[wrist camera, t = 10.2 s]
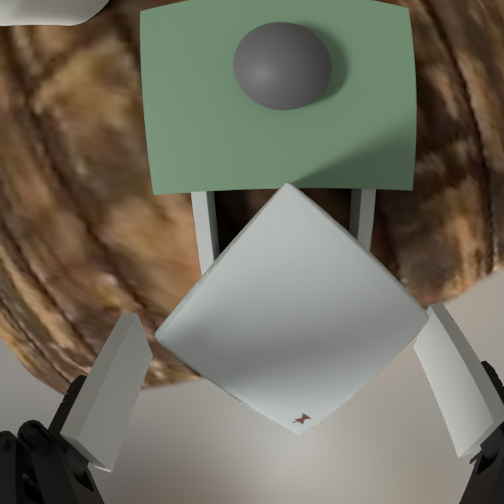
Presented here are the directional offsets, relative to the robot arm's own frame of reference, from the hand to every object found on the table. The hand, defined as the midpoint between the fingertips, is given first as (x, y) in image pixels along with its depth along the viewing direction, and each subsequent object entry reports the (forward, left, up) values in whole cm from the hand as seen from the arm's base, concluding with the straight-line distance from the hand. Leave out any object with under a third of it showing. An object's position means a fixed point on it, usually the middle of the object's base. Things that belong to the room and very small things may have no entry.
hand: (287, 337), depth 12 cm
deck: (-5, 0, -11) cm, 12 cm away
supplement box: (+1, 0, -10) cm, 10 cm away
